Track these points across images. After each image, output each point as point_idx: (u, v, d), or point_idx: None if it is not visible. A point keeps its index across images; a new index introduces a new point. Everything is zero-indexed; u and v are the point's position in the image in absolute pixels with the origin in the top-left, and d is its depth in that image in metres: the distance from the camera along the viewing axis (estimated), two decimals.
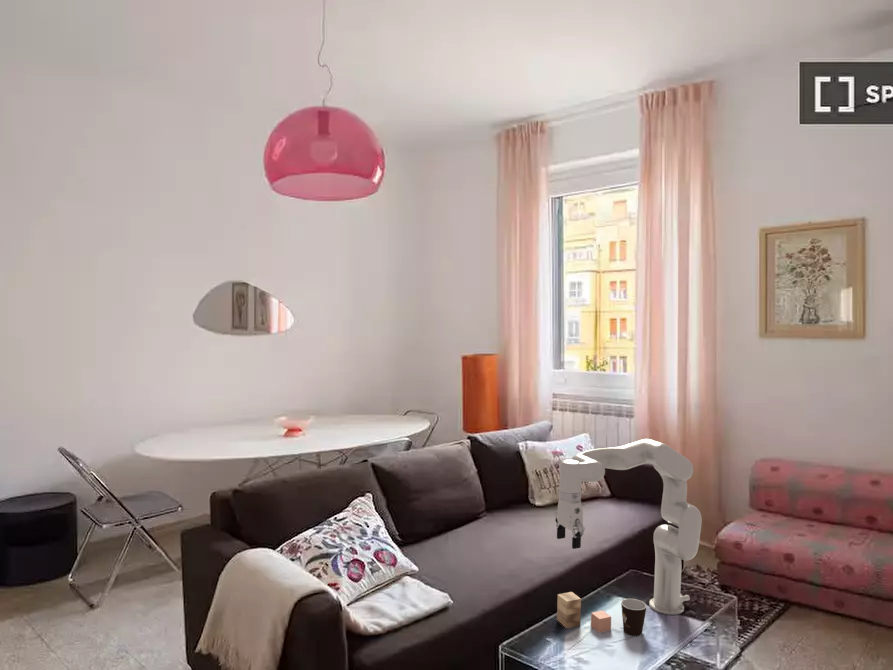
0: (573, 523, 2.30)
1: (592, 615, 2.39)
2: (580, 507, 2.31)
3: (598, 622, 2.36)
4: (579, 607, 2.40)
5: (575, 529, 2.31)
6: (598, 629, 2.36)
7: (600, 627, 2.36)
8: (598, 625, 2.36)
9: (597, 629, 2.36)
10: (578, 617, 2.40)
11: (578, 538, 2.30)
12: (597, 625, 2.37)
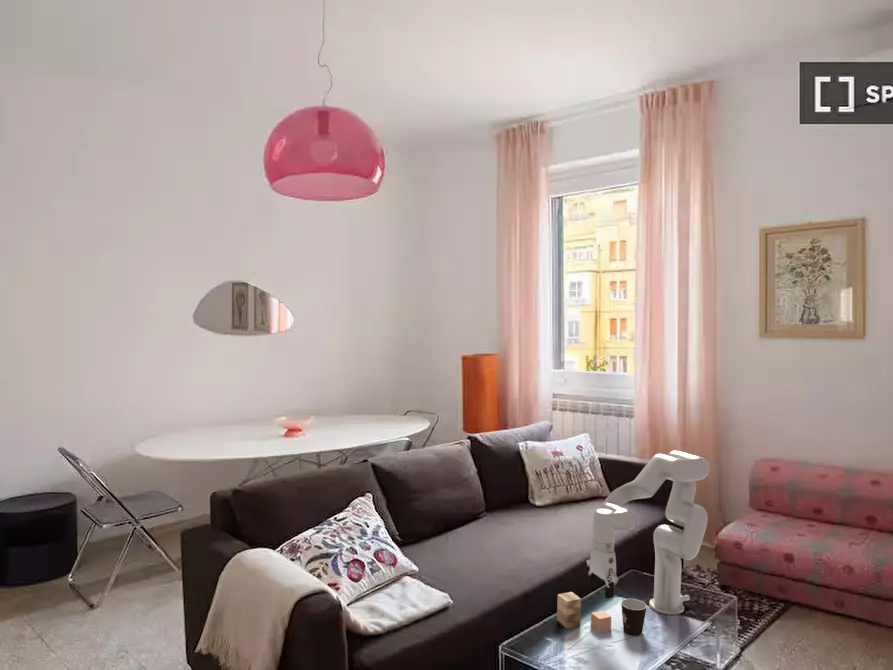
0: (607, 573, 2.32)
1: (592, 615, 2.39)
2: (614, 557, 2.33)
3: (598, 622, 2.36)
4: (579, 607, 2.40)
5: (608, 579, 2.33)
6: (598, 629, 2.36)
7: (600, 627, 2.36)
8: (598, 625, 2.36)
9: (597, 629, 2.36)
10: (578, 617, 2.40)
11: (611, 588, 2.32)
12: (597, 625, 2.37)
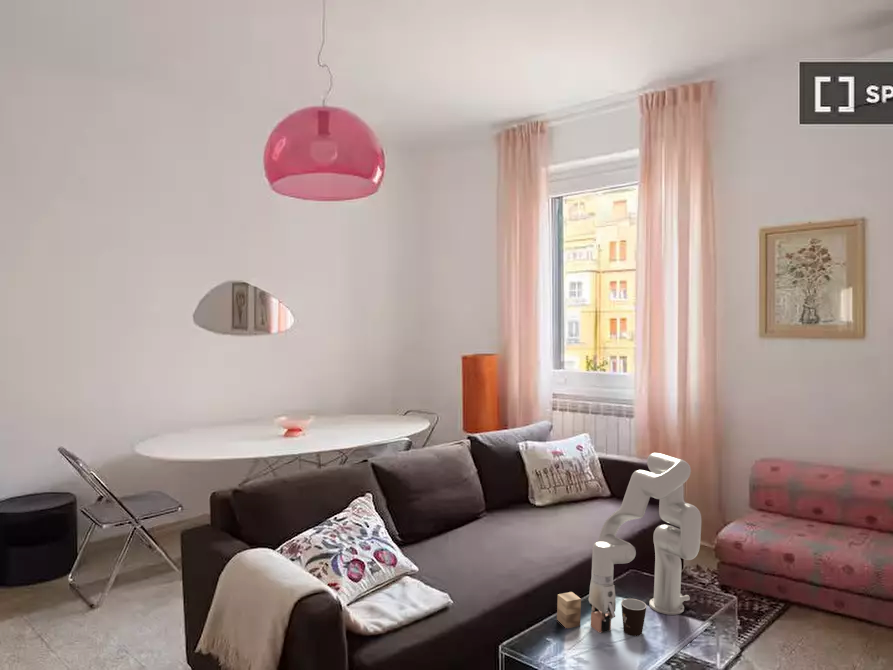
0: (606, 606, 2.33)
1: (592, 615, 2.39)
2: (613, 590, 2.34)
3: (598, 621, 2.36)
4: (579, 607, 2.40)
5: (606, 613, 2.35)
6: (598, 629, 2.36)
7: (600, 627, 2.36)
8: (598, 625, 2.36)
9: (597, 629, 2.36)
10: (578, 617, 2.40)
11: (607, 621, 2.35)
12: (597, 625, 2.37)
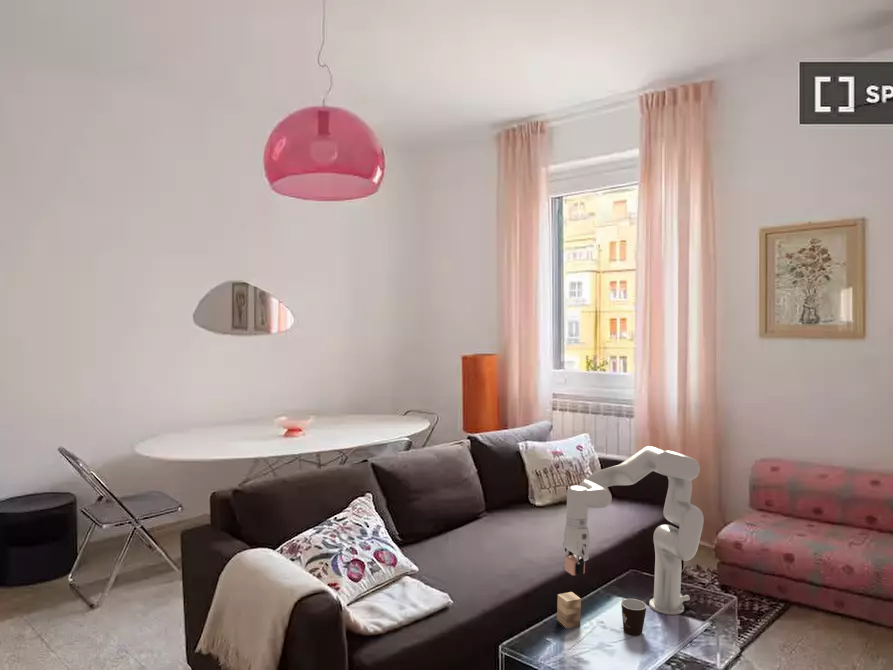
0: (580, 549, 2.34)
1: (566, 559, 2.40)
2: (587, 533, 2.35)
3: (572, 564, 2.37)
4: (579, 607, 2.40)
5: None
6: (572, 572, 2.37)
7: (574, 570, 2.37)
8: (572, 568, 2.37)
9: (571, 572, 2.37)
10: (578, 617, 2.40)
11: (581, 564, 2.36)
12: (570, 568, 2.38)
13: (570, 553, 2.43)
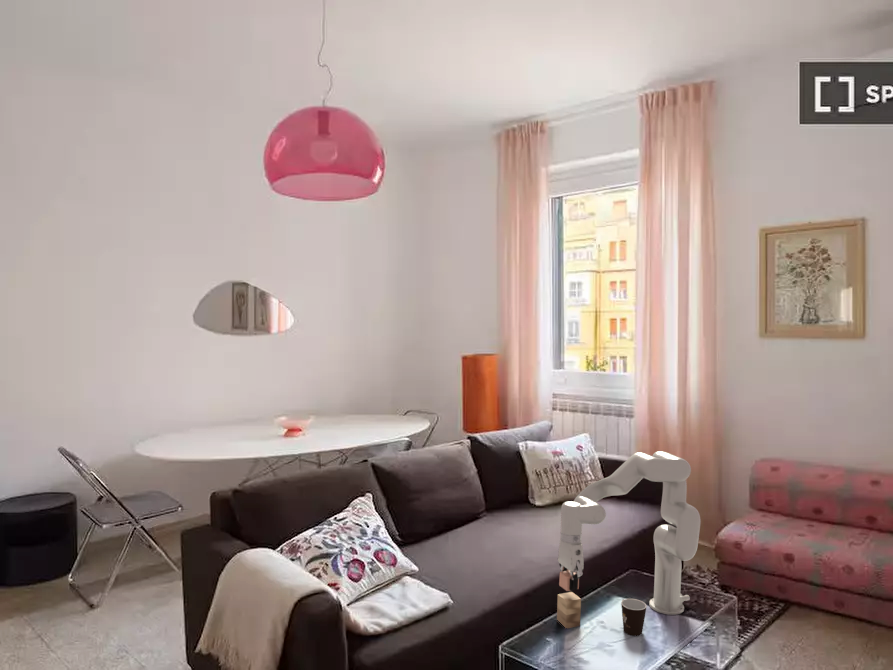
0: (574, 565, 2.35)
1: (560, 574, 2.41)
2: (581, 549, 2.36)
3: (566, 580, 2.38)
4: (579, 607, 2.40)
5: (574, 571, 2.37)
6: (566, 587, 2.38)
7: (568, 585, 2.38)
8: (566, 583, 2.38)
9: (565, 587, 2.38)
10: (578, 617, 2.40)
11: (575, 580, 2.37)
12: (565, 583, 2.39)
13: (564, 568, 2.43)
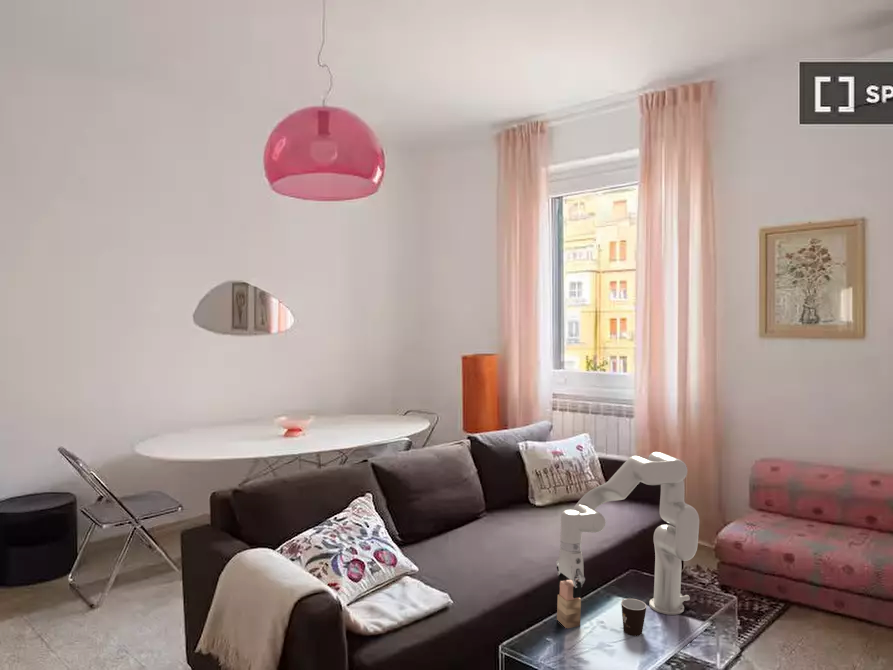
0: (574, 573, 2.35)
1: (561, 584, 2.41)
2: (581, 557, 2.36)
3: (566, 590, 2.38)
4: (579, 607, 2.39)
5: (576, 579, 2.36)
6: (566, 597, 2.38)
7: (568, 595, 2.38)
8: (566, 593, 2.38)
9: (565, 597, 2.39)
10: (578, 617, 2.40)
11: (579, 588, 2.35)
12: (565, 593, 2.39)
13: None
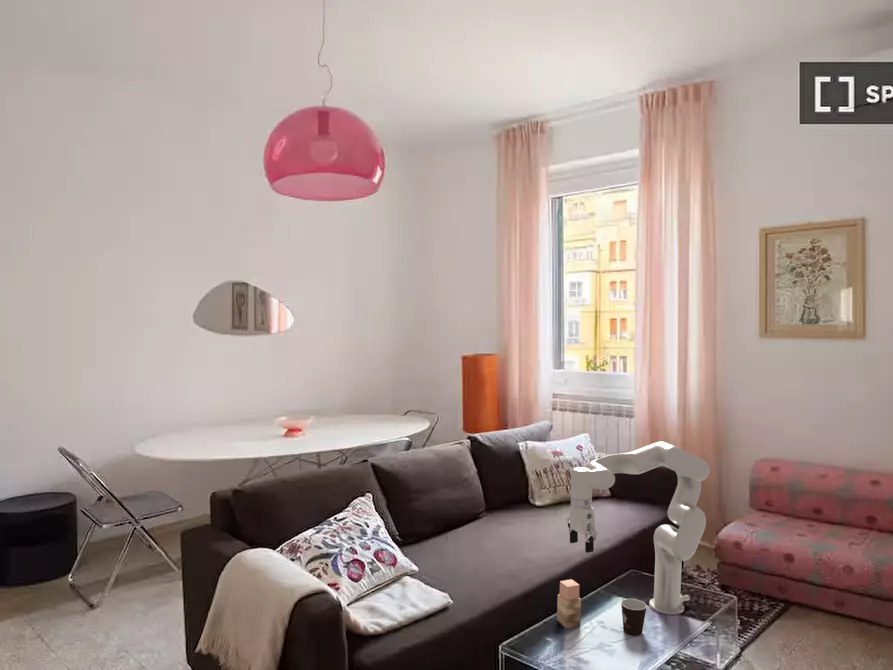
0: (586, 528, 2.39)
1: (561, 583, 2.41)
2: (592, 512, 2.41)
3: (566, 590, 2.38)
4: (579, 607, 2.39)
5: (588, 534, 2.40)
6: (566, 597, 2.38)
7: (568, 595, 2.38)
8: (566, 593, 2.38)
9: (565, 597, 2.39)
10: (578, 617, 2.40)
11: (591, 542, 2.40)
12: (565, 593, 2.39)
13: None
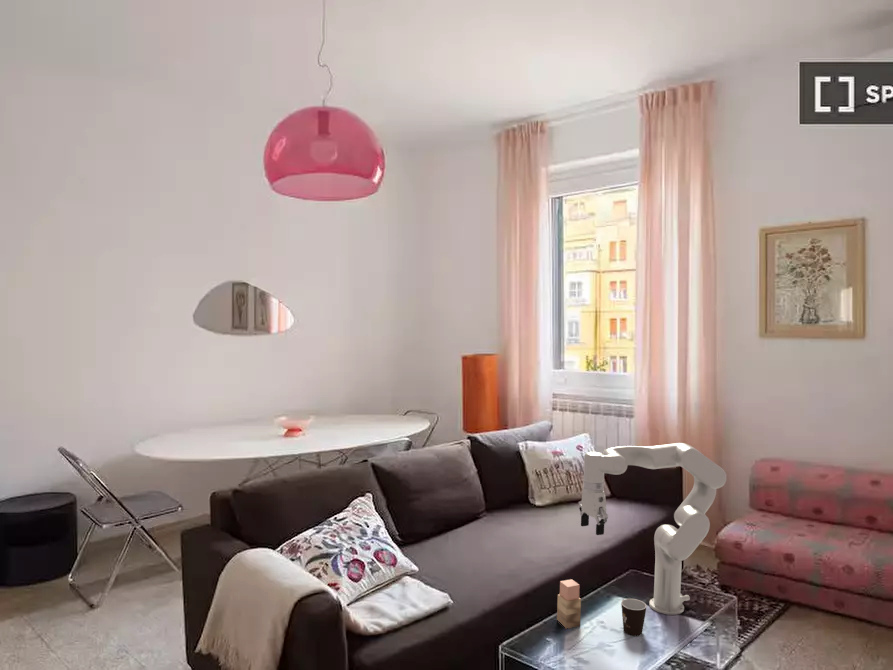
0: (597, 511, 2.46)
1: (561, 583, 2.41)
2: (603, 496, 2.47)
3: (566, 590, 2.38)
4: (579, 607, 2.39)
5: (599, 517, 2.47)
6: (566, 597, 2.38)
7: (568, 595, 2.38)
8: (566, 593, 2.38)
9: (565, 597, 2.39)
10: (578, 617, 2.40)
11: (602, 525, 2.46)
12: (565, 593, 2.39)
13: (585, 512, 2.56)
